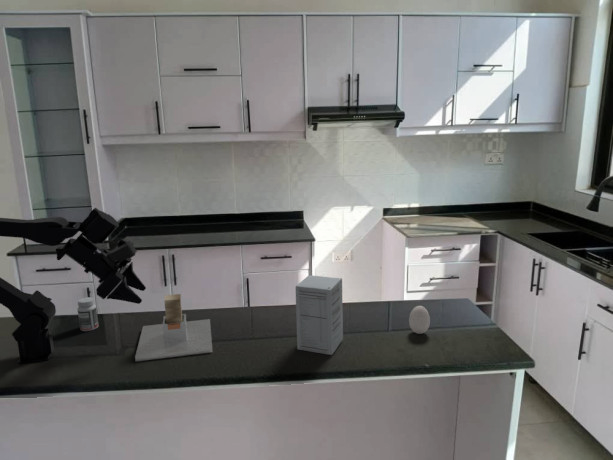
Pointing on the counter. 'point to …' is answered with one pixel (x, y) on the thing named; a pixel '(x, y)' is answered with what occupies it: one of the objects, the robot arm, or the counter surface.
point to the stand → (174, 339)
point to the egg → (419, 320)
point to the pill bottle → (87, 314)
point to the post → (173, 308)
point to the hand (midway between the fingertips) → (142, 295)
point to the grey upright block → (319, 314)
